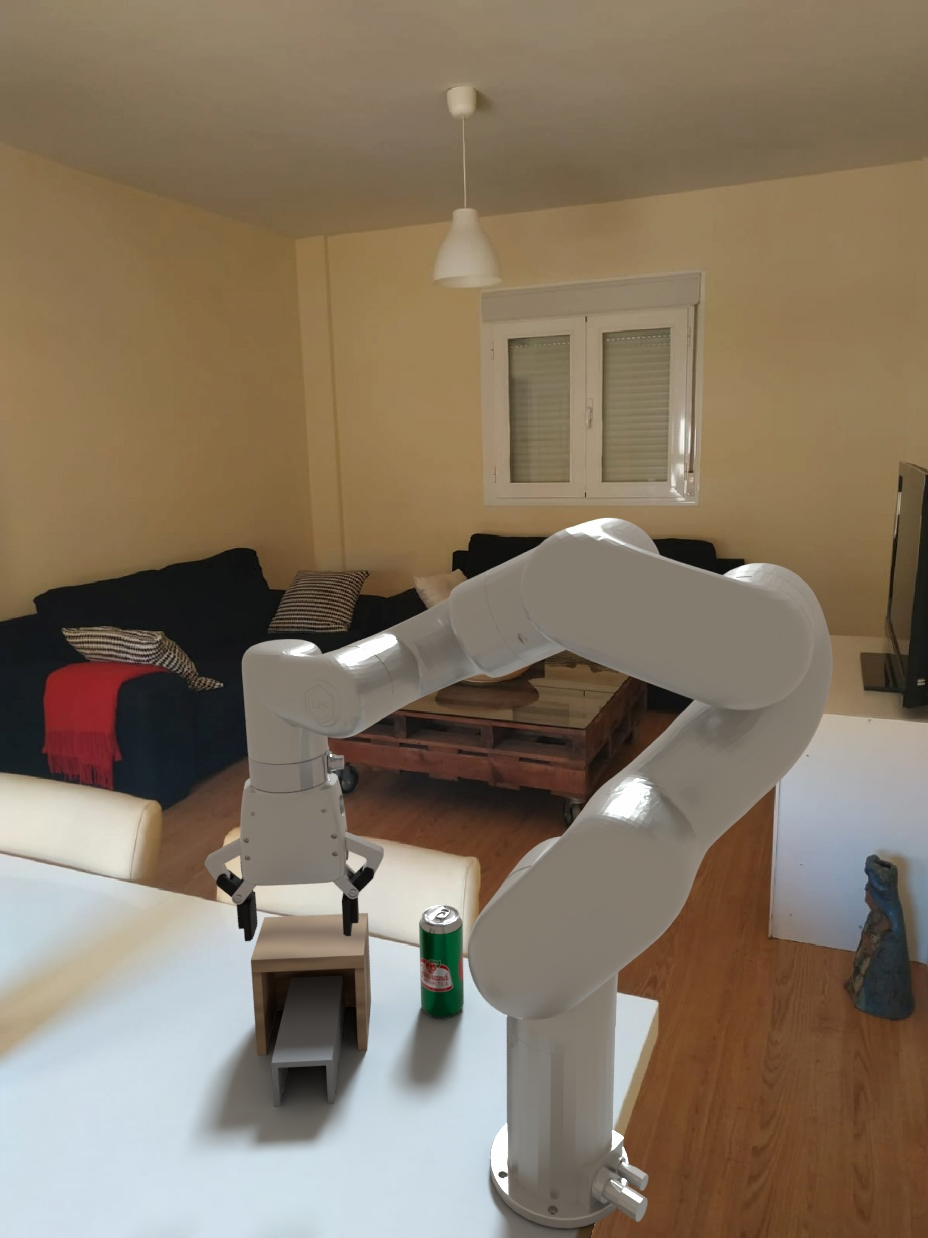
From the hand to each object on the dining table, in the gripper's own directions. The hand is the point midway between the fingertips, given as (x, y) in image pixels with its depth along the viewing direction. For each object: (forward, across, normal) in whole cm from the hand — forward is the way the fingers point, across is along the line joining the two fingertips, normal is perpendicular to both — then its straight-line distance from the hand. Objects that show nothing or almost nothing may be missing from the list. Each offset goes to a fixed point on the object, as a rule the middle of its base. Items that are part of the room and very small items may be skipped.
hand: (300, 931), depth 86 cm
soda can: (+18, -14, -12) cm, 26 cm away
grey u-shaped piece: (+18, 0, -4) cm, 18 cm away
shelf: (+18, 0, -9) cm, 20 cm away
